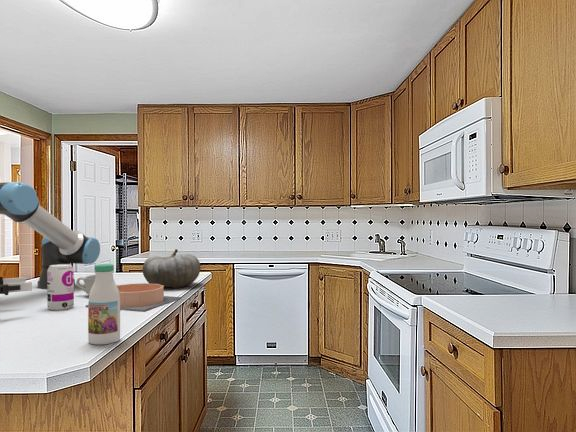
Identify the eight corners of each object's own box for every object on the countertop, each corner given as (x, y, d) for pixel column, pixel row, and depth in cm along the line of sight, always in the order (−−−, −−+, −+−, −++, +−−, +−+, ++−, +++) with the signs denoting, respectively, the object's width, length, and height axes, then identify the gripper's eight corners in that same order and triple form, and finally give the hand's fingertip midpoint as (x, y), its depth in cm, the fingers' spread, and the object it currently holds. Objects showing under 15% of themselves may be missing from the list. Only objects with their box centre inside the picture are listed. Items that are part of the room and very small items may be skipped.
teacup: (118, 293, 186) (118, 274, 186) (105, 298, 176) (104, 278, 176) (86, 293, 188) (85, 273, 188) (70, 298, 177) (70, 277, 177)
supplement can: (79, 306, 161) (78, 264, 161) (60, 311, 153) (60, 267, 153) (61, 305, 164) (61, 263, 163) (41, 309, 156) (41, 266, 156)
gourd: (195, 285, 191) (189, 244, 193) (137, 295, 191) (131, 254, 193) (207, 282, 216) (202, 246, 217) (156, 291, 216) (151, 255, 218)
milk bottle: (94, 337, 122) (94, 263, 121) (123, 336, 122) (123, 262, 122) (83, 345, 114) (83, 266, 114) (115, 345, 115) (115, 266, 114)
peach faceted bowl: (128, 295, 183) (128, 281, 183) (181, 298, 176) (181, 284, 176) (85, 307, 160) (85, 291, 160) (144, 311, 153) (144, 295, 153)
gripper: (-52, 296, 149) (22, 289, 162) (-50, 308, 129) (34, 300, 142) (-52, 273, 149) (22, 268, 162) (-50, 282, 129) (34, 276, 142)
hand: (28, 283), depth 152 cm, fingers open, 13 cm apart
